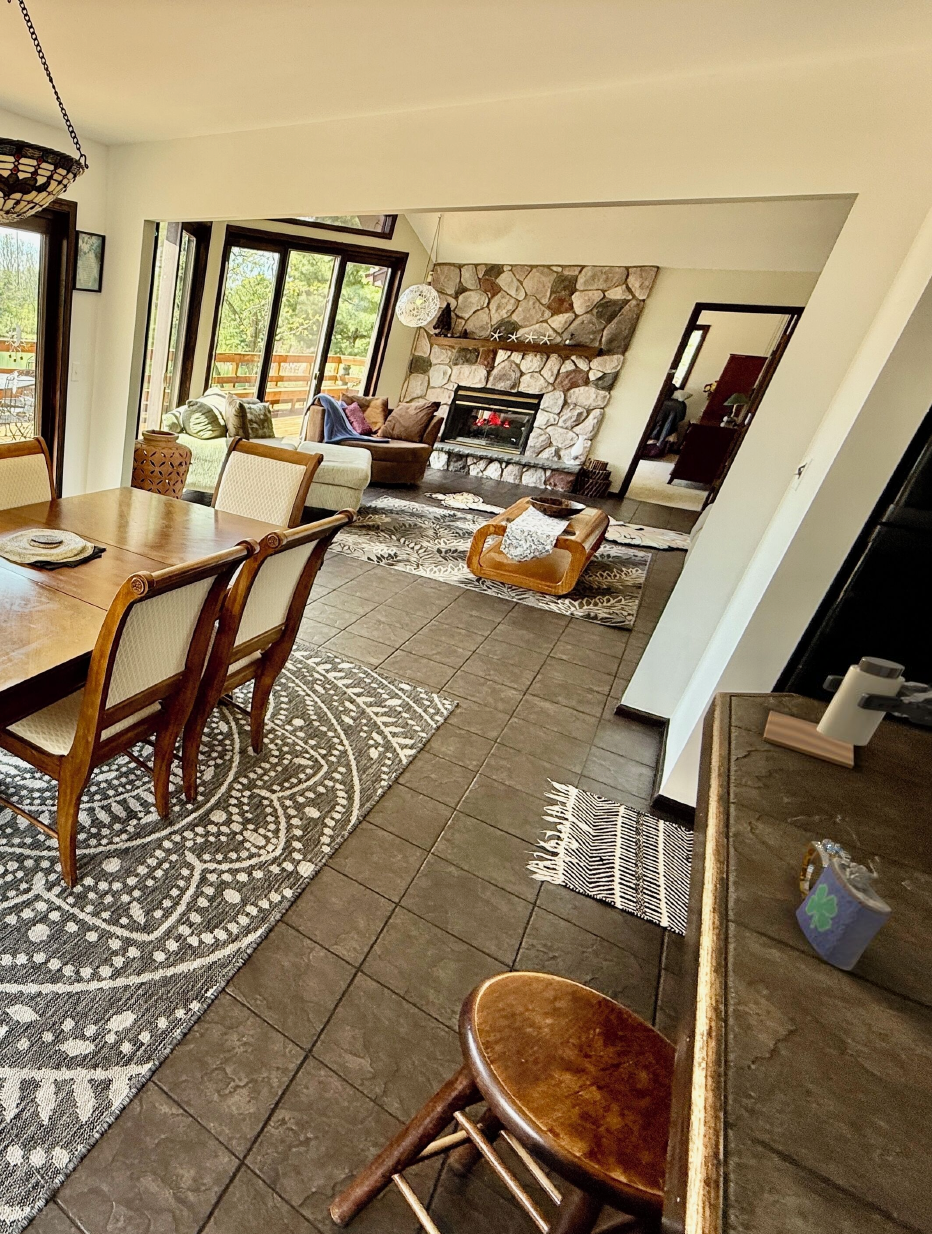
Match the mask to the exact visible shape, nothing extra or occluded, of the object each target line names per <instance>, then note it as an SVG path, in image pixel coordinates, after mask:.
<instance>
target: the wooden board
mask: <svg viewBox="0 0 932 1234" xmlns="http://www.w3.org/2000/svg"><path fill="white" fill-rule="evenodd" d="M818 725H819V723H814V722H811V721H808V720H804V719H801V718H797V717H795V716H791V715H788V714H784V713H780V712H777V711H774V710H770V711H769V713H768V717H767V721H766V724H765V728H764V732H763V736H762V741H763V742H766V743H770V744H773V745H776V746H779V747H782V748H786V749H789V750H792V751H795V752H797V753H802V754H803V755H804V754H805V755H807V756H810V757H813V758H816V759H819V760H823V761H826V762H829V763H833V764H836V765H837V766H842V767H845V768H848V769H851V770H852V769H853V767H854V766H855V761H854V759H855V758H854V753H855V752H854V745H852V744H848V743H844V742H840V741H837V740H834V739H832V738H829V737H827V736H825V735H823V734H821V733H820V732H818V731H817V729H816V728H817V727H818Z"/></svg>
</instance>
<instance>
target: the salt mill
mask: <svg viewBox="0 0 932 1234" xmlns="http://www.w3.org/2000/svg"><path fill="white" fill-rule="evenodd" d="M904 670H905V666H904V665H902V664H900V663H897V662H894V661H891V660H887V659H884V658H878V657H873V656H863V657H861V660H860V661H859V662H858V664H851V665H850V667H849V668H848V670H847V672H846V674H845V676H844V677H845V678H844V679H843V681H842V683H841V685H840V687H839V688H838V690H837V692H836V691H835V694H834V696H833V698H832V699H831V701H830V703H829V705H828V707H827V709H826V711H825V712H824V714H823V716H822V718H821V719H820V721H819V723H818V727H817V728H816V729H817V731H818V732H820V733H821V734H823V735H825V736H827V737H829V738H832V739H834V740H837V741H840V742H844V743H848V744H852V745H853V746H860V747H861V746H862V747H863V746H867V745H868V744H869V742H870V740H871V739H872V738H873V735H874V734H875V732H876V730H877V729H878V727H879V725H880V723H881V722H882V721H883V718H884V717H885V715H886V713H887V712H882V711H874V710H866V709H862V708H860V707H859V706H858V705H857V704H858V702H859V701H860V699H861V697H862V695H863V694H865V693H870V694H879V695H886V696H896V695H897V693H898V691H899V690H900V688H901V686H902V685H903V683H904V682H906V679H905V677H903V676H901V675H902V673H903V672H904Z"/></svg>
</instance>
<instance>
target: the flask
mask: <svg viewBox="0 0 932 1234" xmlns="http://www.w3.org/2000/svg"><path fill="white" fill-rule="evenodd" d="M841 858H842V857H838V858H833V859H829V864H828V865H827V867H826V869H825V870H824V872H823V873H822V874H821V873H820V875H821V876H820V875H819V877H818V880H817V881H816V882H815V884H814V886H813V887H812V888H811V890H809V891H810V893H809V894H808V895H807V897H806V899H805V900H804V899H803V900H804V901H802V903H801V904H800V906H799V907H798V909H796V911H795V915H796V918H797V921H798V925H799V926H800V928H801V930H802V932H803V934H804V935H805V938H806V939H807V940H808V942H809V943H810V944H811V946H812V947H813V948H814V949H815V950H816V952H817V953H818V954H819V956H820V957H822V958H823V959H824V960H825V962H827V963H829V964H831V965H832V966H834V967H836V968H838V969H841V970H843V971H851V970H852V969H853V967H854V966H856V964H857V962H858V961H859V959H860V958H861V956H862V954H863V953H864V951H865V950H866V948H867V947H868V946H869V945H870V944H871V942H872V940H873V938H874V937H875V936H876V935H877V934H878V932H879V931H880V930H881V928H882V927H883V925H884V924H885V923H886V922H887V919H888V918H889V917H890V916H891V915H893V909H892V908H891V906H889V904H887V903H886V902H885V900H883V899H882V898H881V896H879V894H878V893H877V892H875V890H874V888H872V886H871V885H870V884H871V883H872V882H873V881H872V880H877V879H879V873H878V872H875V871H874V873H872V872H870V871H869V869H868V868H867V867H866V866H864V865H859V864H858V863H857V862H856V863H855V862H852V861H847V860H844V859H841Z"/></svg>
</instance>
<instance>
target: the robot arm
mask: <svg viewBox="0 0 932 1234" xmlns="http://www.w3.org/2000/svg"><path fill="white" fill-rule="evenodd" d="M844 678H845V676H840V675H831V674H830V675H828V677H826V680H825V681H824V683H823V685H822V688H823V689H824V690H826V691H828V692H835V693H836V692H837V690H838V688H839V687H840V685H841V683H842V681H843V679H844ZM857 705H858V706H859V707H860V708H862V709H866V710H874V711H882V712H886V713H890V714H892V715H894V716H896V717H901V718H904V717H906V718H908V720H909V722H912V723H914V724H920V725H924V726H925V725H926V726H930V727H932V682H930V683H928V684H925V683H920V682H915V681H908V682H907V681H904V683H903V685H902V686H901V688H900V690H899V691H898V693H897V695H896V696H886V695H879V694H870V693H865V694H863V695H862V697H861V699H860V701H859V702H858V704H857Z"/></svg>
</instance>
